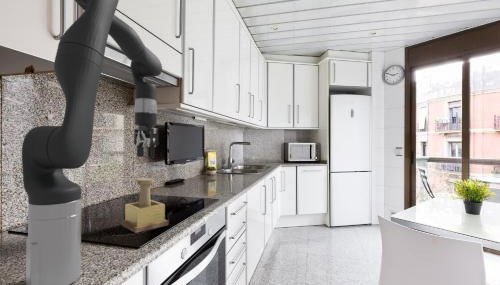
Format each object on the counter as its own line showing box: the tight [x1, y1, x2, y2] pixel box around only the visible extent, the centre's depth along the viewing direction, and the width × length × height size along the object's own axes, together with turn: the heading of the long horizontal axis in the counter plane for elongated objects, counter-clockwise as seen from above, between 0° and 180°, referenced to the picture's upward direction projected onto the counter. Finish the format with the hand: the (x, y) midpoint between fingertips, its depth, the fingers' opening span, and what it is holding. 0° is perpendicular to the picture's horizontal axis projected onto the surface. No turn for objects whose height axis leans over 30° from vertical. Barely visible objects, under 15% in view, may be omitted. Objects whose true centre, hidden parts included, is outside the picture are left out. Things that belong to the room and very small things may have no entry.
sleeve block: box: [120, 199, 169, 234], centre depth 96 cm, size 12×12×8 cm
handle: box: [136, 177, 155, 208], centre depth 96 cm, size 5×6×15 cm
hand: (145, 157), depth 97 cm, fingers open, 8 cm apart
